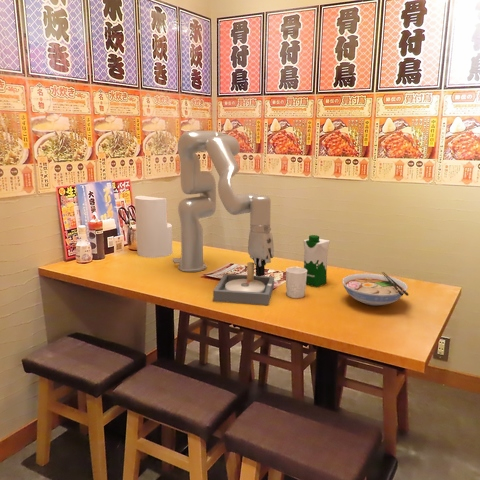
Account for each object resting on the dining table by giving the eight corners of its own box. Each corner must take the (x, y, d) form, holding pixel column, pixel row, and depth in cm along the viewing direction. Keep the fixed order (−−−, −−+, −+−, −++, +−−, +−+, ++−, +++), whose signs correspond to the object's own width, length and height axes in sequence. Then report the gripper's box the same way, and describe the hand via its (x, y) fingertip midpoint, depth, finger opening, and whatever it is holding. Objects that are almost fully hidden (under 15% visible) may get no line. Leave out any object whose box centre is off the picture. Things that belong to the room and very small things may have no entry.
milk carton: (299, 283, 185) (301, 235, 180) (312, 278, 191) (314, 231, 187) (317, 288, 179) (320, 239, 174) (330, 283, 186) (332, 235, 181)
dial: (257, 299, 164) (257, 275, 161) (218, 294, 169) (218, 270, 167) (269, 286, 177) (270, 264, 175) (234, 281, 182) (234, 260, 180)
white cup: (292, 300, 167) (293, 274, 165) (281, 293, 174) (281, 268, 171) (310, 296, 170) (311, 271, 168) (298, 290, 177) (299, 265, 175)
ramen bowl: (335, 289, 178) (336, 269, 176) (394, 291, 178) (396, 270, 176) (347, 315, 154) (349, 292, 152) (416, 317, 153) (418, 294, 151)
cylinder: (155, 259, 216) (153, 201, 209) (129, 253, 225) (127, 197, 218) (179, 251, 230) (178, 196, 223) (154, 246, 239) (152, 193, 232)
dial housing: (213, 301, 165) (213, 290, 164) (224, 283, 184) (224, 273, 183) (268, 305, 162) (268, 294, 161) (273, 286, 181) (274, 276, 180)
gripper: (281, 230, 168) (280, 277, 172) (254, 224, 179) (254, 269, 183) (266, 233, 163) (266, 282, 167) (239, 226, 174) (240, 272, 178)
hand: (260, 275), depth 175 cm, fingers closed
